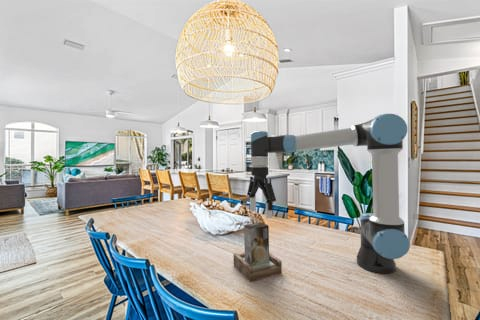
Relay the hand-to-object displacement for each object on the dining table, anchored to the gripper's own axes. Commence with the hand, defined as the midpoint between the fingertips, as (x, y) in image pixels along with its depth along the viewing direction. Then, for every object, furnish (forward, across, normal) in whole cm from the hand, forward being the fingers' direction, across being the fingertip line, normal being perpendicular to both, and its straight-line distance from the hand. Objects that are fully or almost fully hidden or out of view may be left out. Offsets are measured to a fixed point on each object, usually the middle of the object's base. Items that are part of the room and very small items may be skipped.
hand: (260, 214), depth 103 cm
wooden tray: (+24, 0, +3) cm, 24 cm away
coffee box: (+20, 0, +3) cm, 21 cm away
